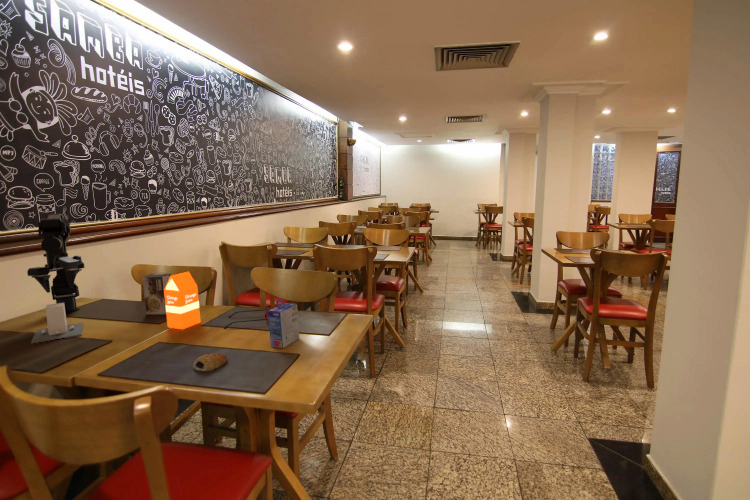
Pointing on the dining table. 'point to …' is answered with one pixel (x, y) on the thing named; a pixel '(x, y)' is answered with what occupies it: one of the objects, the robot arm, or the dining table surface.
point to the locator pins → (57, 331)
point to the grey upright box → (155, 292)
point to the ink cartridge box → (283, 324)
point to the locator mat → (70, 333)
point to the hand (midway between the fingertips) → (60, 290)
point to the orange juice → (182, 301)
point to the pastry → (209, 362)
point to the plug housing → (56, 318)
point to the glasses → (251, 320)
